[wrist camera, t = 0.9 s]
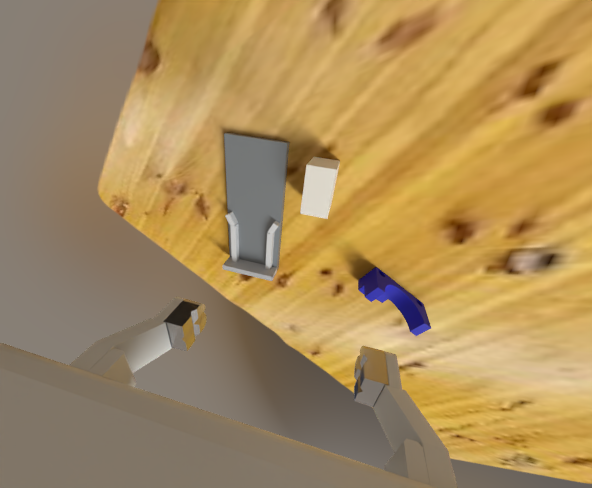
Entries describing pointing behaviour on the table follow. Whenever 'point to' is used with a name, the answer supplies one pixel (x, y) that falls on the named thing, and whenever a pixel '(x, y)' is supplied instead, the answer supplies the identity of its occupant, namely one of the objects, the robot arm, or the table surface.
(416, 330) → the cable clip
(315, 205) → the panel block
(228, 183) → the mounting plate
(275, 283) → the table surface
